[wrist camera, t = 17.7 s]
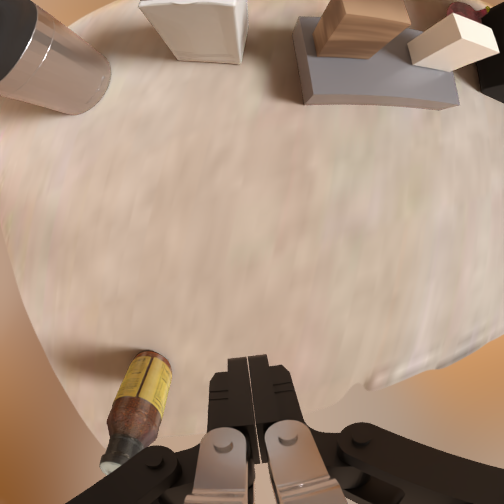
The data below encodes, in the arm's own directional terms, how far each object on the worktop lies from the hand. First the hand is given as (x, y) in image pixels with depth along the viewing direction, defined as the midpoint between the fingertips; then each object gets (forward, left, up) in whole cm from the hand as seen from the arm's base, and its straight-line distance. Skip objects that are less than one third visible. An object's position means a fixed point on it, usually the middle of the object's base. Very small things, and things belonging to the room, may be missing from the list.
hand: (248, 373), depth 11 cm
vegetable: (+8, +47, -26) cm, 54 cm away
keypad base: (+1, +28, -26) cm, 38 cm away
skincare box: (-17, +18, -26) cm, 36 cm away
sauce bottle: (-1, -23, -26) cm, 34 cm away
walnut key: (-4, +25, -20) cm, 32 cm away
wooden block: (+5, +32, -20) cm, 38 cm away
